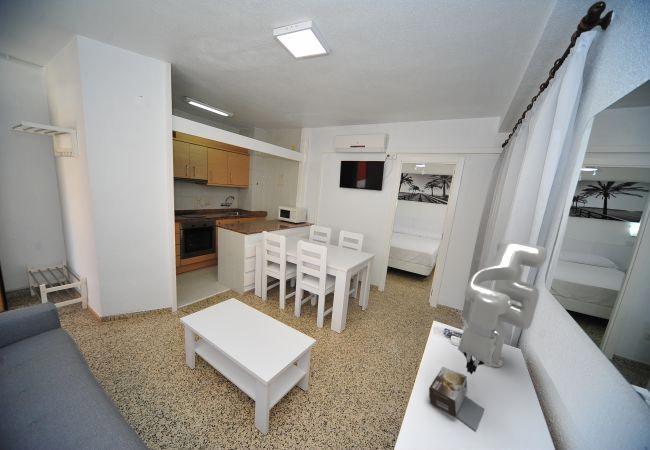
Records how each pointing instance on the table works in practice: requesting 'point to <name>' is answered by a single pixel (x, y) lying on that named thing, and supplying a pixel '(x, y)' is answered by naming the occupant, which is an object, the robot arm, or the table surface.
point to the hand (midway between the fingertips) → (470, 371)
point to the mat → (470, 413)
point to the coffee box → (448, 391)
